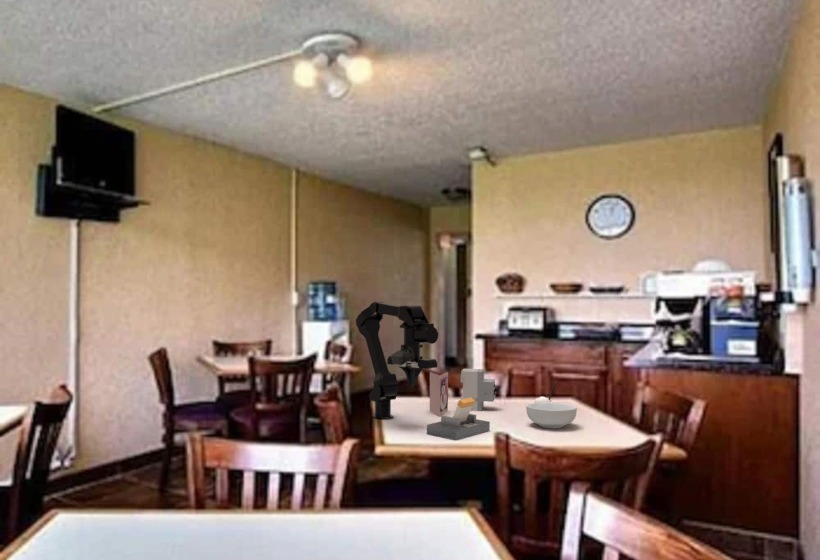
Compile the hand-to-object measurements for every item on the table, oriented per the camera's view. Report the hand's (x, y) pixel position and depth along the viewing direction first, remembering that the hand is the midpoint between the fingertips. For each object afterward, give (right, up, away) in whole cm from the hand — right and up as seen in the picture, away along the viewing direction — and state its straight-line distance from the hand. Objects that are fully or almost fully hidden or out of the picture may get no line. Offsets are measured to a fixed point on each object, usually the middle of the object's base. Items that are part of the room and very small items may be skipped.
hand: (411, 386), depth 233 cm
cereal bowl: (+48, -14, -1) cm, 50 cm away
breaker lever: (+15, -9, -12) cm, 22 cm away
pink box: (+9, -13, +19) cm, 25 cm away
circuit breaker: (+27, -13, +28) cm, 41 cm away
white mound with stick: (+50, -14, +20) cm, 55 cm away
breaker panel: (+15, -13, -12) cm, 23 cm away
